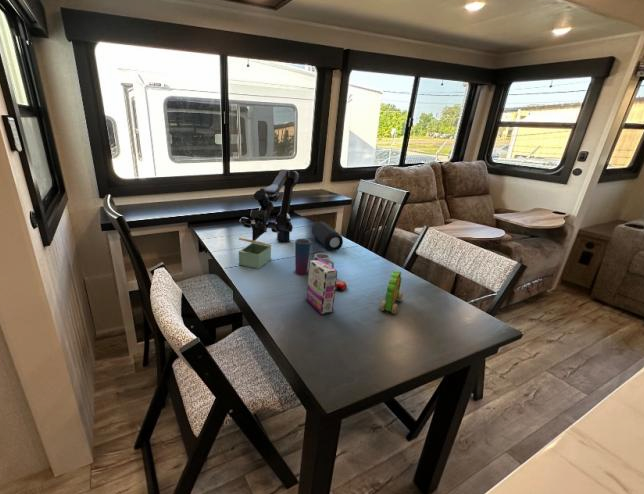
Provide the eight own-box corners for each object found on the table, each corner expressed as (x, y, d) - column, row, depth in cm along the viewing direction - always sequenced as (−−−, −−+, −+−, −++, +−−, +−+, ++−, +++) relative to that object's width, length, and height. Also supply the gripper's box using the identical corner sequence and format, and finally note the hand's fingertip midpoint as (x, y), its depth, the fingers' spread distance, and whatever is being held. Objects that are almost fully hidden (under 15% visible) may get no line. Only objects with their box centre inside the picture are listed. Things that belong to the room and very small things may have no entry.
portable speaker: (343, 251, 164) (345, 233, 160) (325, 252, 162) (327, 234, 158) (325, 235, 187) (326, 219, 183) (309, 236, 185) (310, 220, 181)
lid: (259, 243, 138) (259, 241, 138) (238, 239, 142) (239, 237, 142) (270, 246, 150) (271, 244, 150) (251, 242, 154) (252, 241, 154)
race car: (348, 287, 128) (349, 278, 126) (344, 292, 123) (345, 284, 122) (317, 279, 133) (318, 271, 132) (313, 285, 129) (313, 276, 127)
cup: (310, 271, 141) (313, 240, 136) (305, 277, 136) (307, 245, 130) (296, 268, 144) (298, 237, 138) (291, 273, 138) (292, 242, 132)
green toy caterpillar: (387, 295, 122) (394, 260, 116) (402, 299, 119) (409, 263, 114) (377, 314, 109) (384, 276, 104) (393, 319, 107) (401, 280, 101)
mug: (310, 269, 143) (311, 255, 141) (319, 264, 148) (320, 252, 145) (329, 276, 137) (330, 262, 134) (337, 271, 141) (338, 258, 139)
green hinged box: (258, 268, 142) (258, 255, 140) (238, 264, 146) (238, 251, 144) (270, 259, 153) (271, 246, 150) (251, 255, 157) (251, 242, 154)
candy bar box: (333, 312, 110) (338, 270, 104) (321, 315, 108) (325, 272, 102) (317, 297, 120) (320, 258, 114) (306, 299, 118) (308, 260, 112)
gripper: (241, 200, 146) (229, 229, 141) (277, 205, 138) (266, 235, 133) (249, 212, 155) (238, 240, 150) (283, 218, 148) (273, 246, 143)
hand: (253, 240), depth 144 cm, fingers closed, pressing on lid
